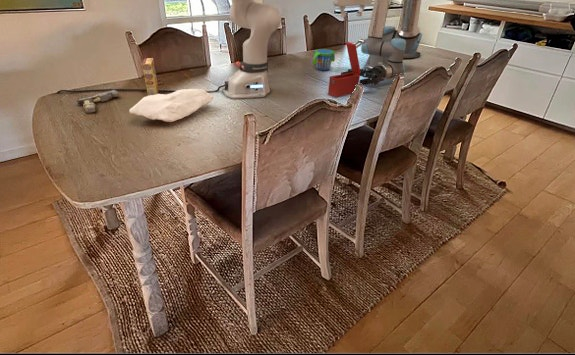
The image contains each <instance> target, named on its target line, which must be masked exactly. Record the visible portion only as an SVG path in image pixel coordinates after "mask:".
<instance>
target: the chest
mask: <svg viewBox="0 0 575 355" xmlns="http://www.w3.org/2000/svg"><path fill="white" fill-rule="evenodd" d="M360 77H361V76H360V75H359V74H356V73H353V72H351V73H346V74H341V73H340V74H336V75H331V76H329V81H328V83H329V84H328V91H327V95H328V96H330V97H333V98H339V97H345V96H348V95H352V94H351V93H352V92H353V91H354V89H355V85H356V84H358V83H360V79H361V78H360Z"/></svg>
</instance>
